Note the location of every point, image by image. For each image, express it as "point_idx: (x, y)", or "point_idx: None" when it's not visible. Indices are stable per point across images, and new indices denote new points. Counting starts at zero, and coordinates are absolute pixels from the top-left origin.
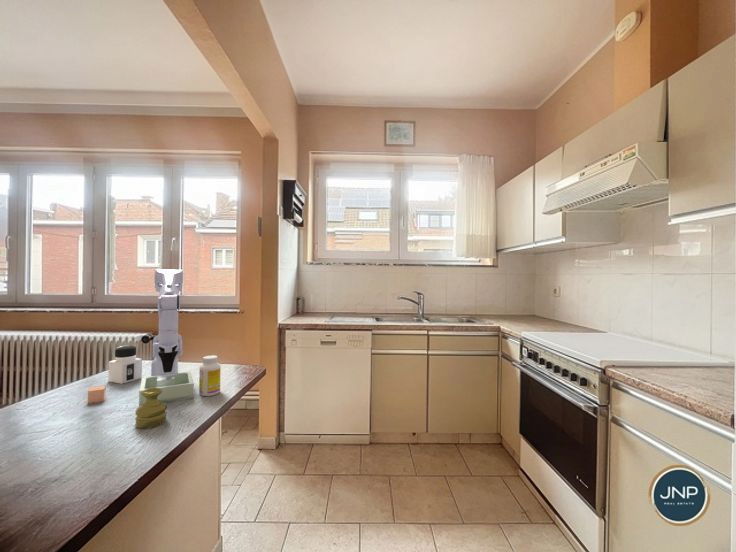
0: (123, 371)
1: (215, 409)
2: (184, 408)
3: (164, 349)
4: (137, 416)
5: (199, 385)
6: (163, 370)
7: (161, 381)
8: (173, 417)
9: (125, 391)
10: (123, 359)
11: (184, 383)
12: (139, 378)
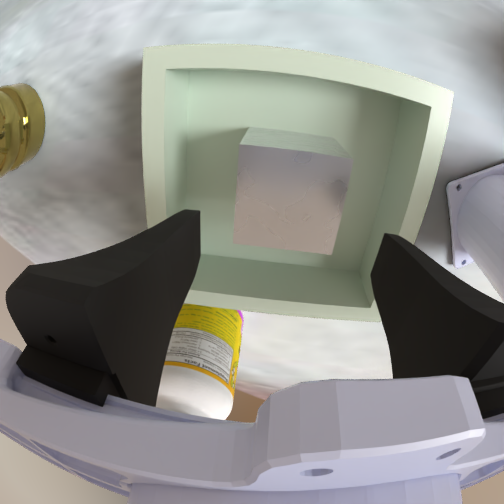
0: None
1: None
2: (87, 215)
3: (453, 357)
4: (5, 90)
5: (195, 307)
6: (178, 212)
7: (238, 168)
8: (35, 180)
9: (455, 35)
10: None
11: (362, 263)
12: None
